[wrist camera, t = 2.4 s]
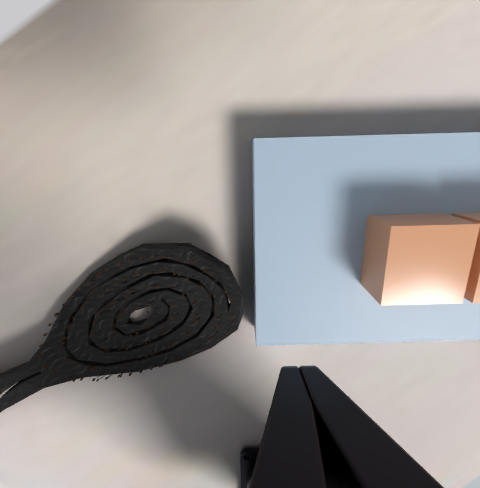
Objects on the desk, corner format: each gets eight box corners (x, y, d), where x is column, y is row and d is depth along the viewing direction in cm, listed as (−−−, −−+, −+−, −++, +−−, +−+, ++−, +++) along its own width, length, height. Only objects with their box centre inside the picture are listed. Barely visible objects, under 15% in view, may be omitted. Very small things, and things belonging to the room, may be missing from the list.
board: (489, 321, 20) (516, 339, 18) (254, 327, 20) (256, 345, 18) (539, 132, 16) (580, 129, 14) (252, 140, 16) (253, 138, 14)
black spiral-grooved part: (-141, 400, 18) (193, 223, 14) (-78, 359, 22) (205, 207, 17) (-44, 480, 21) (271, 352, 16) (-2, 431, 24) (267, 314, 19)
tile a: (430, 281, 17) (462, 303, 14) (360, 283, 17) (380, 305, 14) (442, 213, 15) (480, 223, 13) (367, 215, 15) (391, 226, 13)
